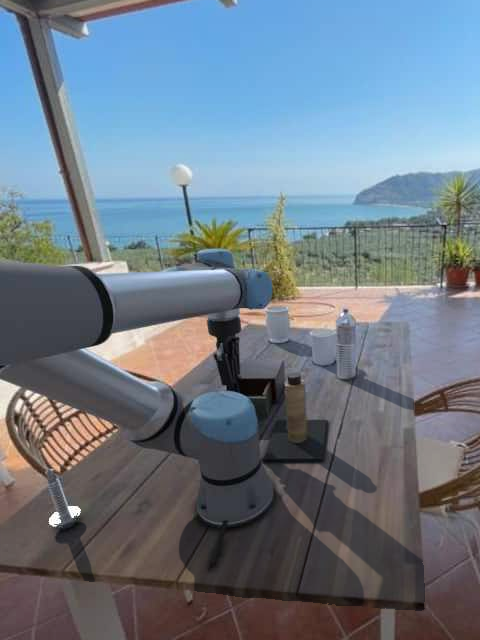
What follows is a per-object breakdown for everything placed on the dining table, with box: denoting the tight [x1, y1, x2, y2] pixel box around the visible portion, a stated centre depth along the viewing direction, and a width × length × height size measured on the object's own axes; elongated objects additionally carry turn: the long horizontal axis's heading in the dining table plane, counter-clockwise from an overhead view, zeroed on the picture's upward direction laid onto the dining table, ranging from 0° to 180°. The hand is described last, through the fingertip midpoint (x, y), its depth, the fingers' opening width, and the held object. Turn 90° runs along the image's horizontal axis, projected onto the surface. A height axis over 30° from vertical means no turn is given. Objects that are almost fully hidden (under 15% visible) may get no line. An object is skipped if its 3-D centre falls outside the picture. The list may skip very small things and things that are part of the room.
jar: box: [264, 305, 291, 344], centre depth 173 cm, size 11×10×15 cm
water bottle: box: [335, 307, 357, 381], centre depth 135 cm, size 7×7×25 cm
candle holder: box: [309, 328, 336, 366], centre depth 150 cm, size 10×10×12 cm
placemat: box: [263, 419, 328, 463], centre depth 102 cm, size 18×14×1 cm
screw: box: [44, 468, 81, 530], centre depth 73 cm, size 13×5×5 cm
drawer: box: [238, 381, 274, 421], centre depth 113 cm, size 19×12×7 cm, turn 1°
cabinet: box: [237, 358, 286, 404], centre depth 126 cm, size 16×14×9 cm
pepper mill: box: [283, 372, 308, 443], centre depth 99 cm, size 5×5×18 cm
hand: (235, 404), depth 100 cm, fingers closed
